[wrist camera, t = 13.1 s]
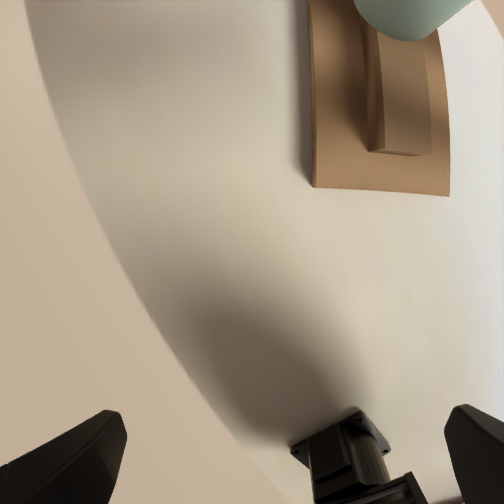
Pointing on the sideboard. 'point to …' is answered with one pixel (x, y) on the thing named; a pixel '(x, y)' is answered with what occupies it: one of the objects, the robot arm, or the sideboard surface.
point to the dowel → (408, 16)
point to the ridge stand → (376, 106)
